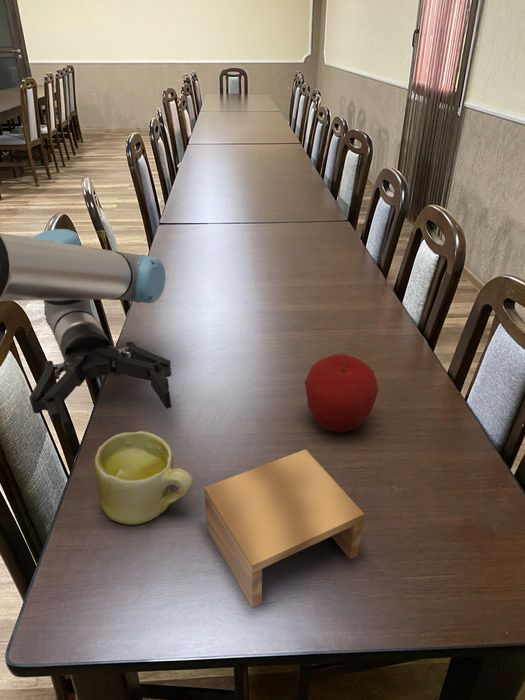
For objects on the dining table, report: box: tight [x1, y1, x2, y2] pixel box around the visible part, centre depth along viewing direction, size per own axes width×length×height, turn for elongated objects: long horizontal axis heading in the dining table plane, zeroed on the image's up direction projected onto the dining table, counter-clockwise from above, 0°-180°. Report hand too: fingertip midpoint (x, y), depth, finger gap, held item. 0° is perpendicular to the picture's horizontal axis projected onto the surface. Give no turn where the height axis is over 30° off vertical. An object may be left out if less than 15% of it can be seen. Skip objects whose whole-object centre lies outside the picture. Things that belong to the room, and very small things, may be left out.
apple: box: [304, 353, 379, 433], centre depth 80 cm, size 11×11×12 cm
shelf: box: [203, 448, 365, 609], centre depth 62 cm, size 14×12×7 cm
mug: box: [93, 430, 194, 526], centre depth 67 cm, size 12×10×10 cm
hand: (120, 415), depth 72 cm, fingers open, 13 cm apart
